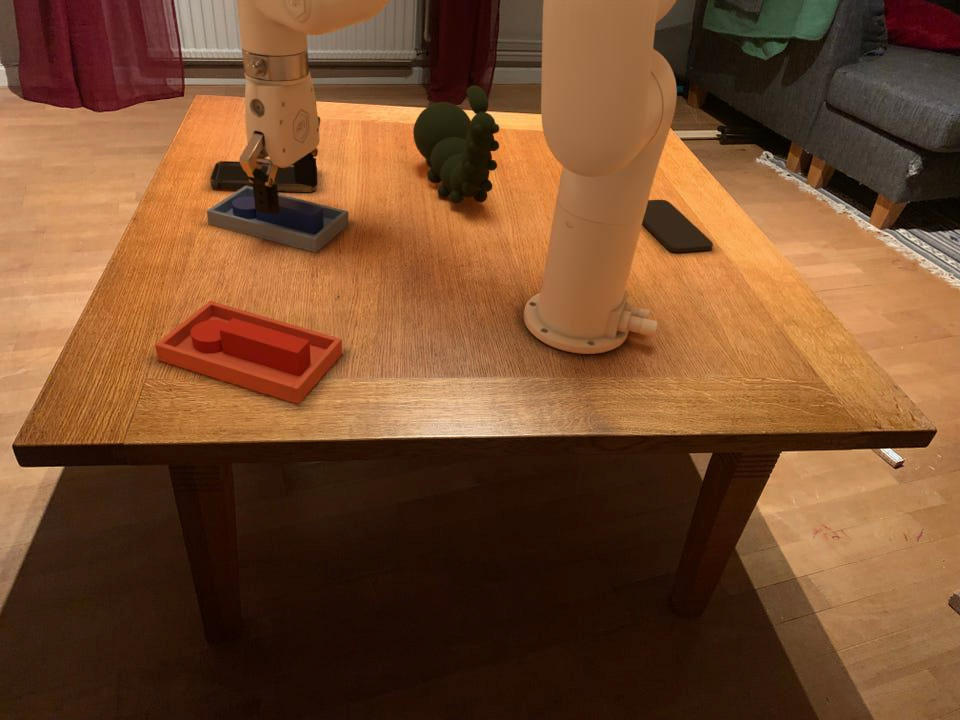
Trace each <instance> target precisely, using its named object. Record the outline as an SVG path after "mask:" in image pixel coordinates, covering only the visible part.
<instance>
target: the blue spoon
mask: <svg viewBox="0 0 960 720" xmlns="http://www.w3.org/2000/svg"><path fill="white" fill-rule="evenodd" d="M278 201H279V213H278V214H277V215H273V214H269V213H265V212H261V211H257V210H256V208H255V201H254V197H249V196H246V197H239V198H237V199H235V200H233V202H232V209H233V214H234V216H237V217H241V218H245V219H254V218H256V219H257V220H261V221H265V222H269V223H272V224H276V225H280V226H284V227H288V228H292V229H295V230H299V231H303V232H307V233H311V234H317V233H318V232H319V231H320V230H321V229H323V228H324V220H323V208H322V207H318V206H314V205H310V204H306V203H302V202H299V201H295V200H291V199H287V198H283V197H279V196H278Z"/></svg>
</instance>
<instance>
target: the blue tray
mask: <svg viewBox="0 0 960 720" xmlns="http://www.w3.org/2000/svg"><path fill="white" fill-rule="evenodd" d="M246 196H249V197H254V193H253V187H249V186H244V187H243V188H241V189H240V190H236V191H235V192H233V193H232V194H230V195H229V196H227V197H225V198H224V199H223V200H221V201H219V202H218V203H216V204H215V205H213V206H211V207H210V208H208V209H207V210H206V216H207V217H206V218H207V223H208V225H211V226H213V227H217V228H220V229H221V228H222V229H225V230H229V231H233V232H236V233H240V234H243V235H244V234H245V235H248V236H252V237H256V238H258V239H263V240H266V241H271V242H274V243H278V244H281V245H285V246H289V247H292V248H296V249H301V250H304V251H308V252H311V253H315V254H316V253H318V252H319V251H320V250H321V249H322V248H324V247H325V246H326V245H327V244H328V243H329V242H330V241H331V240H333V239H334V238H335V237H336V236H337V235H338V234H339V233H341V232H342V231H343V230H344V229H345V228H346V227H348V225H350V223H349V220H350V219H349V210H344V209H341V208H337V207H332V206H328V205H325V204H321V203H316V202H313V201H309V200H305V199H301V198H297V197H292V196H289V195H285V194H282V193H281V194H280V193H278V196H279V197H283V198H287V199H291V200H295V201H299V202H302V203H306V204H310V205H314V206H318V207H322V208H323V220H324V228H323V229H321V230H320V231H319V232H318V233H317V234H311V233H307V232H303V231H299V230H295V229H292V228H288V227H284V226H280V225H276V224H272V223H269V222H265V221H261V220H257V219H256V218H254V219H245V218H241V217H237V216H234V214H233V209H232V202H233V200H235V199H237V198H239V197H246Z"/></svg>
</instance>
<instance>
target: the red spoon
mask: <svg viewBox="0 0 960 720" xmlns="http://www.w3.org/2000/svg"><path fill="white" fill-rule="evenodd" d="M191 338H192V344H193V347H194V348H195V349H196V350H198V351H200V352H204V353H215V352H220V351H222V352H223V353H225V354H228V355H232V356H235V357H238V358H241V359H245V360H248V361H251V362H255V363H258V364H261V365H264V366H268V367H271V368H274V369H277V370H281V371H284V372H287V373H290V374H294V375H297V376H300V375H301V374H302V373H303V371H304V370H305V369H306V368H307V367H308V366H309V365H310V364H311V359H310V341H309V340H306V339H302V338H299V337H296V336H292V335H289V334H285V333H282V332H279V331H275V330H272V329H268V328H265V327H262V326H258V325H255V324H251V323H248V322H244V321H241V320H238V319H234V318H232V319H231V320H230V321H229V322H228V323H226V322H224V321H220V320H206V321H202V322H200V323H198V324H196V325H195V326H194V327H193V328H192V329H191Z"/></svg>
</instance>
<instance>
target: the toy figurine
mask: <svg viewBox="0 0 960 720" xmlns="http://www.w3.org/2000/svg"><path fill="white" fill-rule="evenodd" d="M466 97H467V98H468V102H469V106H470V108H471V110H472V112H473V113H474V114H475V115H474V116H473V117H472V118H471V119H470V117H469V116H468V115H469V114H467V112H466V111H465V110H464V109H462V108H461V107H460V106H459V105H457V104H454V103H451V102H448V101H447V102H445V101H440V102H436V103H435V102H434V101H432V100H430V101H428V104H427V107H426V108H424V109H423V110H421V112H420V113H419V115H418V116H417V118H416V120H415V123H414V125H413V128H412V129H413V130H412V133H413V134H412V135H413V141H414V144H415V146H416V149H417V151H418V153H419V154H420V155H421V156H422V158H424V160H425V162H426V165H427V166H428V167H429V168H428V170H427V179H428V181H429V182H430V183H431V184H439V185H438V188H437V190H436V191H437V194H438V197H441V198H449V201H450V203H451V204H454V205H460V204H461V203H463V200H464V198H468V199H469V198H472V197H473V200H474V201H476V202H477V203H485V201H487V199H488V193H489V192H491V191H492V190H493V186H494V185H493V183H492V182H491V180H489V177H490V171H491V172H492V171H495V170H496V169H497V168H498V163H497V161H496V160H495V159H493V155H492V152H496V151H498V150H499V148H500V143H499V141H498V140H496V139H495V136H494V134H497V133H499V132H500V125H499V124H497V123H496V120H495V118H494V116H492V115H491V113H488V112H487V111H488V108H489V99H488V95H487V93H486V92H485V90H484V89H483V88H482V87H480V86H479V85H471V86H469V87H468V88H467V89H466ZM440 183H441V184H440Z"/></svg>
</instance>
